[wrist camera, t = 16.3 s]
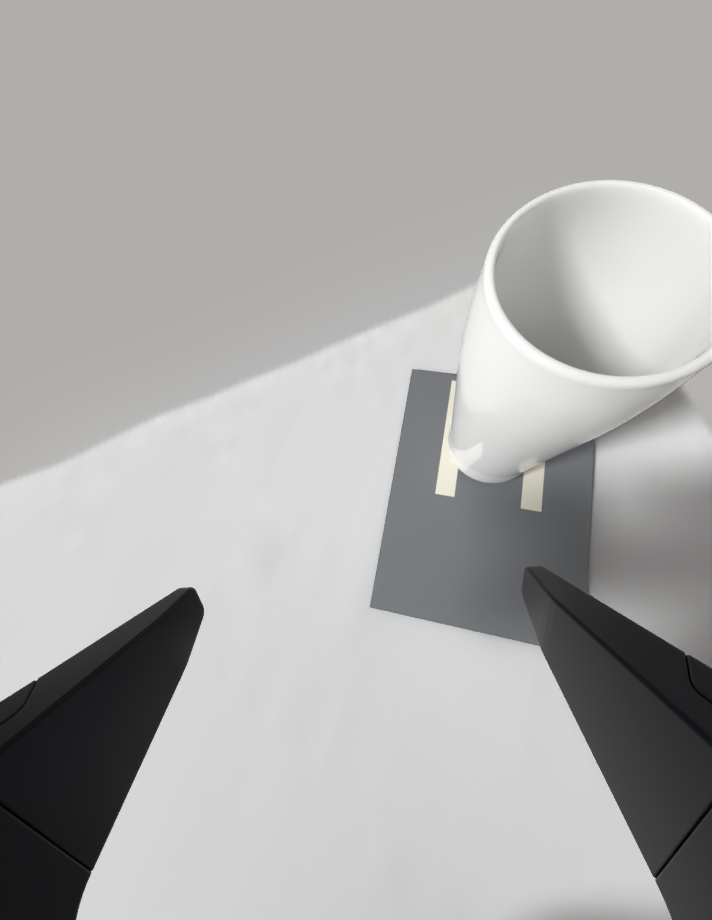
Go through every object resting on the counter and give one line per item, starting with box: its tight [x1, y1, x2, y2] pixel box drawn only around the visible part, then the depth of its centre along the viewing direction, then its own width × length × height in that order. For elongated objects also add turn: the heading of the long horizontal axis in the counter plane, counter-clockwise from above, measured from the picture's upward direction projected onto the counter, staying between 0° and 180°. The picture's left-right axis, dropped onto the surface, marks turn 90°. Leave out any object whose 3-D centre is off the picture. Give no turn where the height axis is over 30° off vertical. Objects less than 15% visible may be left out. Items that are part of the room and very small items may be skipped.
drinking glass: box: [447, 180, 712, 483], centre depth 17 cm, size 7×7×15 cm
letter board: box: [370, 369, 594, 646], centre depth 24 cm, size 16×12×1 cm
